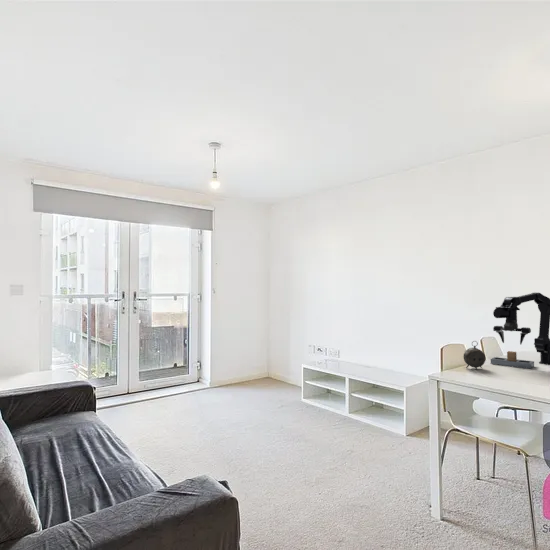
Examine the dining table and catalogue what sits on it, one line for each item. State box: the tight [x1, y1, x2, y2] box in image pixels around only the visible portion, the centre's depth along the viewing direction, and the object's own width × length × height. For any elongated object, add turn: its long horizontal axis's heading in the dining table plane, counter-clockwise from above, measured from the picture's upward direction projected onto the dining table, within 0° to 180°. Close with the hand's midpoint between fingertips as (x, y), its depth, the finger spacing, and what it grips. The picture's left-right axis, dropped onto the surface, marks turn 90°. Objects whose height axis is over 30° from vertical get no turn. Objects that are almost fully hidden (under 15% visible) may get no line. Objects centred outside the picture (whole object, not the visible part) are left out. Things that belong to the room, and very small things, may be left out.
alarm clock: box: [463, 340, 487, 370], centre depth 224 cm, size 11×5×16 cm, turn 84°
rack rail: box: [490, 356, 535, 370], centre depth 234 cm, size 21×9×3 cm, turn 46°
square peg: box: [506, 350, 518, 361], centre depth 234 cm, size 4×4×8 cm
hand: (512, 343), depth 234 cm, fingers open, 9 cm apart
